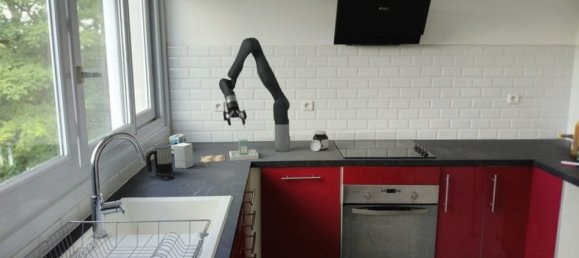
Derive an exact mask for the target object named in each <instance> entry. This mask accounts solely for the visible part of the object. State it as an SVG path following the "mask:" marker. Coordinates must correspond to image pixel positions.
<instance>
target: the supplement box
mask: <svg viewBox="0 0 579 258" xmlns="http://www.w3.org/2000/svg"><path fill="white" fill-rule="evenodd" d="M194 164H195V163H194V151H193V143H188V142H186V143H180V144H177V145H174V166H175V168H177V169H184V170H185V169H188V168H190V167H193V166H194Z"/></svg>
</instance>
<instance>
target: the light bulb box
mask: <svg viewBox="0 0 579 258" xmlns="http://www.w3.org/2000/svg"><path fill="white" fill-rule="evenodd" d="M168 141H169V145H172V146H171V152H172V154H174V145H177V144H180V143H187V135H186V134H184V133H183V134H182V133H176V134H173V135H171V136H169V137H168Z"/></svg>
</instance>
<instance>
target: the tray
mask: <svg viewBox="0 0 579 258" xmlns="http://www.w3.org/2000/svg"><path fill="white" fill-rule="evenodd" d="M228 152H229V158H230V161H231V162H233V161H243V160H246V161H247V160H259V156H260V155H259V153H258V151H257V150H256V149H248V155H240V156H239V150H229V151H228Z"/></svg>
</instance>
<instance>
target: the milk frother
mask: <svg viewBox="0 0 579 258" xmlns="http://www.w3.org/2000/svg"><path fill="white" fill-rule="evenodd" d="M171 146H172V145H170V144H157V145H154V146H153V149H152V150H151V149H150V150H148V151H147V152H146V153H145V156H144V157H145V158H146V159H145V158H144V159H145V165H146V172H148V173H152V171H153V167H152V166H153V165H152V156H153V161H154V163H153V164H154V172H155V174H154V175H156V176H160V177H161V176H162V177H165V178H168V179H171V178H174V169H173V155H172V152H171Z"/></svg>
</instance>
